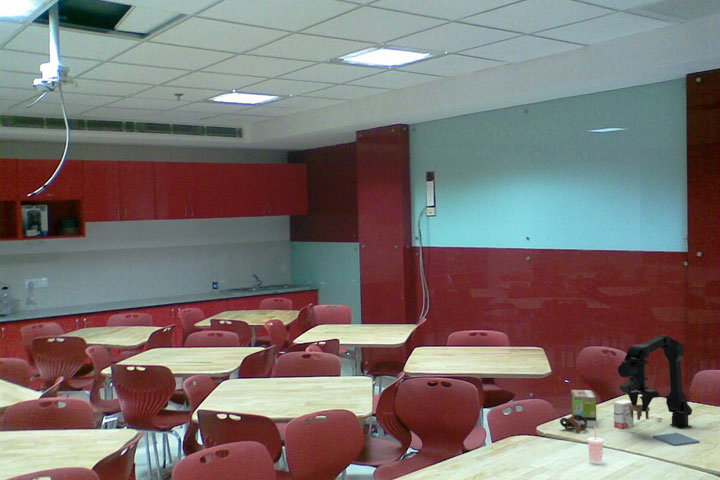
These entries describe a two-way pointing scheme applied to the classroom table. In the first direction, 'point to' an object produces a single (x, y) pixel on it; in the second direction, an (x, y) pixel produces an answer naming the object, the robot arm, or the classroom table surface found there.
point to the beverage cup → (595, 449)
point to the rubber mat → (675, 439)
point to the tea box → (584, 406)
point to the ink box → (622, 414)
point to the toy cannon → (574, 422)
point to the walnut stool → (638, 411)
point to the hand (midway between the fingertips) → (639, 409)
